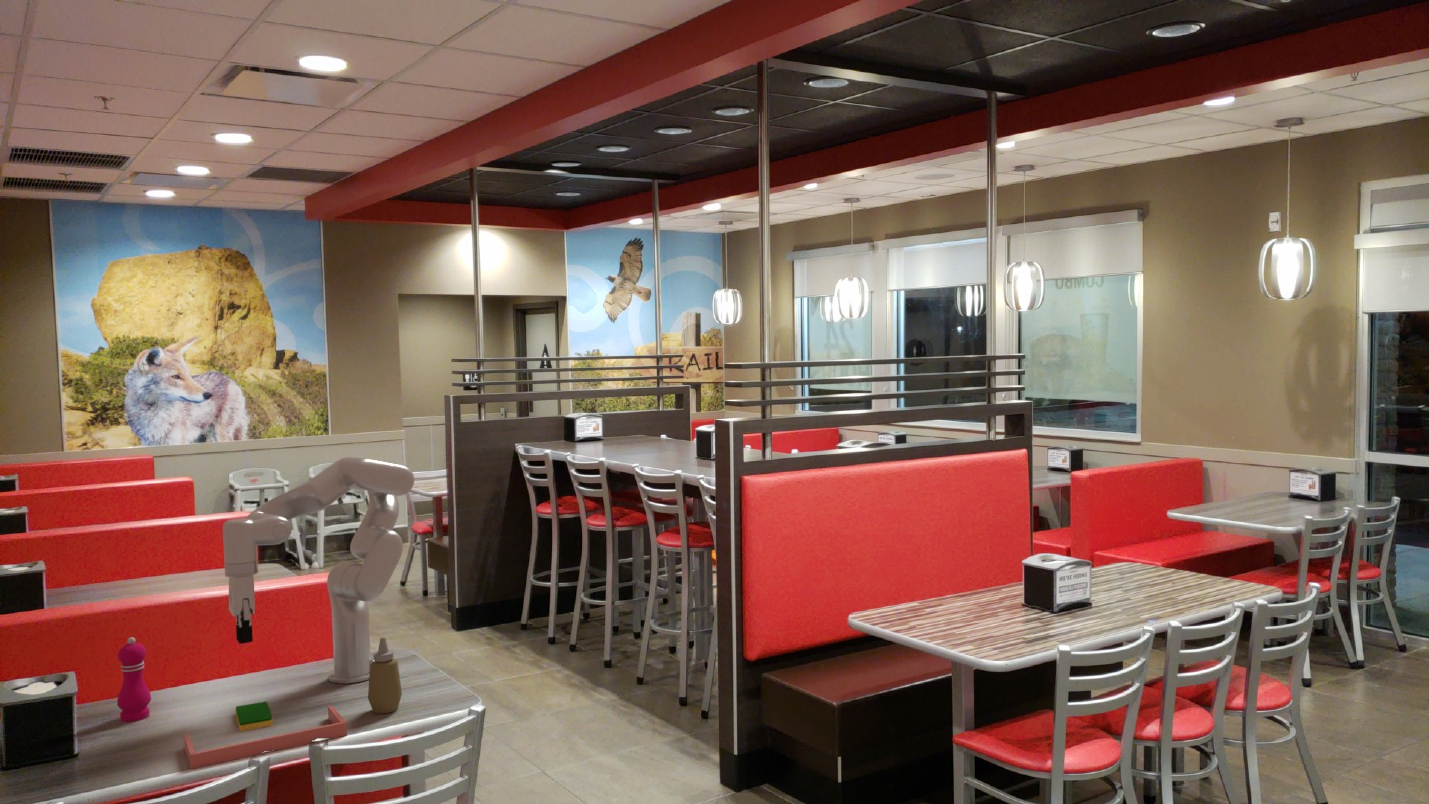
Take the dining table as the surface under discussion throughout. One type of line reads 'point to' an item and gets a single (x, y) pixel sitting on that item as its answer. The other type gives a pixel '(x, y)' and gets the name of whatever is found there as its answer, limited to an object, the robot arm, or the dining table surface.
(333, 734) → the pink u-shaped bracket
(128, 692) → the pepper mill
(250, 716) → the dish sponge
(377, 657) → the squeeze bottle
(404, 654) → the dining table surface
